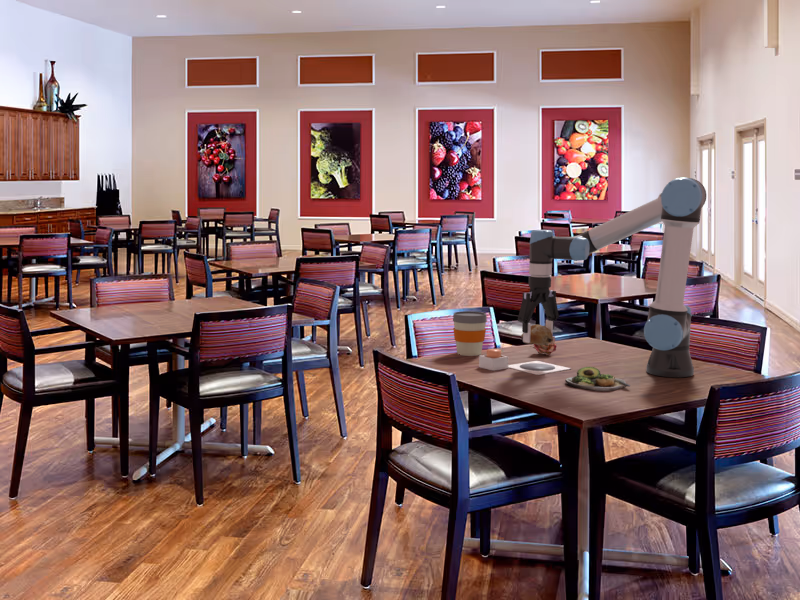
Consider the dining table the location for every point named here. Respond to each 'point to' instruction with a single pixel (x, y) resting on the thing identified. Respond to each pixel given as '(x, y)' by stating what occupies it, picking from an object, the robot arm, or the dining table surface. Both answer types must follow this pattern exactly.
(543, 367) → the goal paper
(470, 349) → the reusable coffee cup
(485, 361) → the button housing
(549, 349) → the flower
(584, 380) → the salad plate
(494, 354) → the button
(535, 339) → the bread roll
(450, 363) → the dining table surface
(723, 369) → the dining table surface
